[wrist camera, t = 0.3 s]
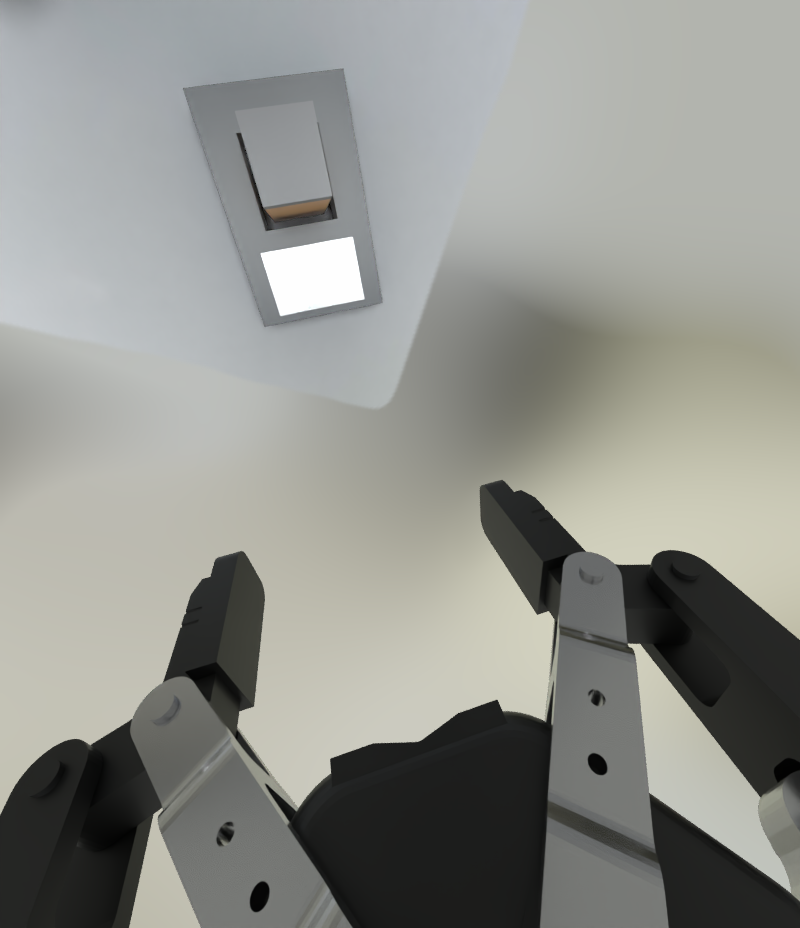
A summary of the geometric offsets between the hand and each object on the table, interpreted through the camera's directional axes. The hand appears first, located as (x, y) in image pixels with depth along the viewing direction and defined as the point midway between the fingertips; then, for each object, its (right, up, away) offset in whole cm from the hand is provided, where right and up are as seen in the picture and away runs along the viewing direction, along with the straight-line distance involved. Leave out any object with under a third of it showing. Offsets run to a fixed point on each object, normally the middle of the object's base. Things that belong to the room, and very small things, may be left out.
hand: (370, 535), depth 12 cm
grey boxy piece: (-7, +22, +17) cm, 29 cm away
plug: (-7, +24, +16) cm, 30 cm away
